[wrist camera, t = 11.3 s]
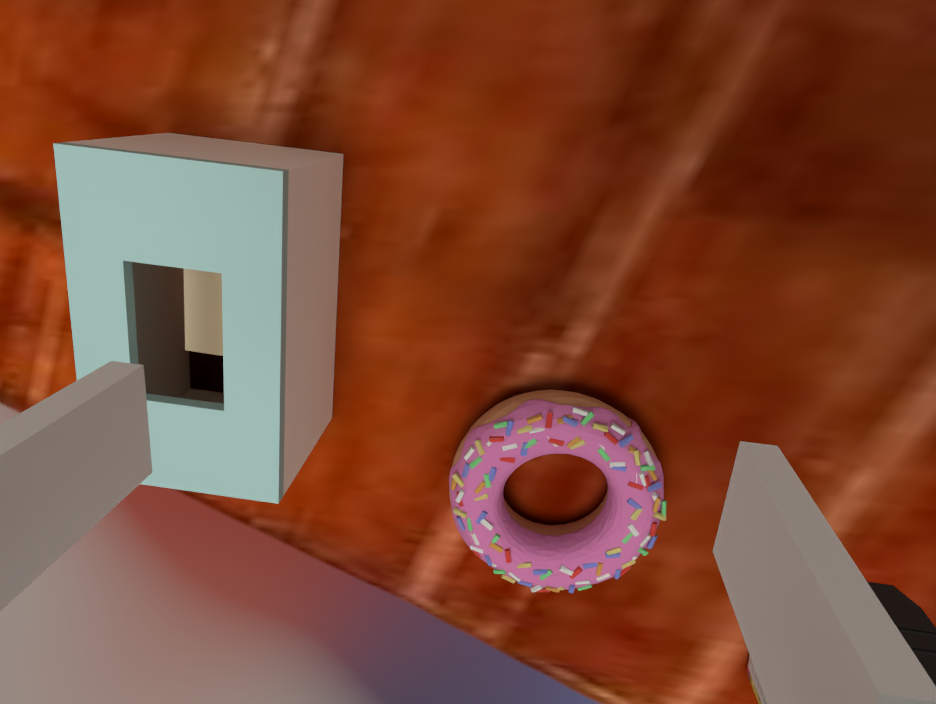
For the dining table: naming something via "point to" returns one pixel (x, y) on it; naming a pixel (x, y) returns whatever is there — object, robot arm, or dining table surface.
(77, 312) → the box
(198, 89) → the dining table surface
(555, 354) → the dining table surface
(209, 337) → the beige rectangular block
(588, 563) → the donut
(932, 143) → the dining table surface
